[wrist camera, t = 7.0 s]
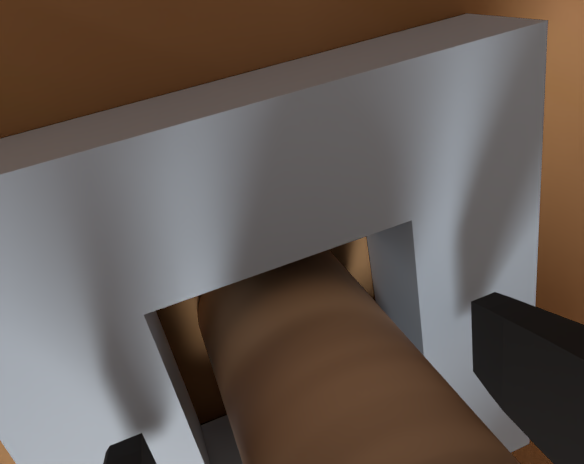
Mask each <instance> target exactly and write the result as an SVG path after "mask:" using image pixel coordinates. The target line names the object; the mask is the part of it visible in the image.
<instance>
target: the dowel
mask: <svg viewBox="0 0 584 464" xmlns="http://www.w3.org/2000/svg"><path fill="white" fill-rule="evenodd" d="M198 322H199V327H200V331H201V334H202V337H203V340H204V343H205V347H206V350H207V353H208V356H209V359H210V362H211V365H212V369H213V372H214V375H215V378H216V381H217V384H218V387H219V390H220V394H221V397H222V400H223V403H224V406H225V409H226V412H227V416H228V419H229V422H230V425H231V428H232V431H233V434H234V437H235V441H236V444H237V447H238V450H239V453H240V456H241V459H242V463H243V464H520V463H519V462H518V461H517V459H516V458H515V457H514V456H513V455H512V454H511V453H510V452H509V451H508V449H507V448H506V447H505V446H504V445H503V444H502V443H501V442H500V440H499V439H498V438H497V437H496V436H495V435H494V434H493V433H492V432H491V430H490V429H489V428H488V427H487V426H486V425H485V424H484V423H483V421H482V420H481V419H480V418H479V417H478V416H477V415H476V414H475V413H474V411H473V410H472V409H471V408H470V407H469V406H468V405H467V404H466V402H465V401H464V400H463V399H462V398H461V397H460V396H459V395H458V393H457V392H456V391H455V390H454V389H453V388H452V387H451V386H450V385H449V383H448V382H447V381H446V380H445V379H444V378H443V377H442V376H441V374H440V373H439V372H438V371H437V370H436V369H435V368H434V367H433V366H432V364H431V363H430V362H429V361H428V360H427V359H426V358H425V357H424V355H423V354H422V353H421V352H420V351H419V350H418V349H417V348H416V347H415V345H414V344H413V343H412V342H411V341H410V340H409V339H408V338H407V336H406V335H405V334H404V333H403V332H402V331H401V330H400V329H399V328H398V326H397V325H396V324H395V323H394V322H393V321H392V320H391V319H390V317H389V316H388V315H387V314H386V313H385V312H384V311H383V310H382V309H381V307H380V306H379V305H378V304H377V303H376V302H375V301H374V300H373V298H372V297H371V296H370V295H369V294H368V293H367V292H366V291H365V290H364V288H363V287H362V286H361V285H360V284H359V283H358V282H357V281H356V279H355V278H354V277H353V276H352V275H351V274H350V273H349V272H348V271H347V269H346V268H345V267H344V266H343V265H342V264H341V263H340V262H339V260H338V259H337V258H336V257H335V256H334V255H333V254H332V253H331V252H330V251H329V250H326V251H323V252H320V253H317V254H315V255H312V256H309V257H306V258H303V259H300V260H298V261H295V262H292V263H289V264H286V265H283V266H281V267H278V268H275V269H272V270H269V271H266V272H264V273H261V274H258V275H255V276H252V277H249V278H247V279H244V280H241V281H238V282H235V283H232V284H230V285H227V286H224V287H221V288H218V289H215V290H213V291H210V292H207V293H204V294H201V297H200V301H199V306H198Z"/></svg>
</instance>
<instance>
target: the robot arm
mask: <svg viewBox="0 0 584 464" xmlns="http://www.w3.org/2000/svg"><path fill="white" fill-rule="evenodd" d="M471 322H472V355H473V372H474V373H475V375H476V376H477V378H478V379H479V380H480V382H481V383H482V384H483V386H484V387H485V388H486V390H487V391H488V393H489V394H490V395H491V396H492V398H493V399H494V400H495V402H496V403H497V404H498V405H499V407H500V408H501V409H502V410H503V412H504V413H505V414H506V415H507V416H508V417H509V418H510V419H511V420H512V421H513V422H514V423H515V424H516V425H517V426H518V427H519V428H520V429H521V430H522V432H523V433H524V434H525V435H526V436H527V437H528V438H529V439H530V440H531V441H532V442H533V443H534V444H535V445H536V446H537V447H538V448H539V449H540V450H541V451H542V452H543V453H544V454H545V455H546V456H547V457H548V458H549V459H550V460H551V461H552V462H553V463H554V464H584V325H583V324H580V323H577V322H575V321H572V320H569V319H567V318H564V317H561V316H559V315H556V314H553V313H551V312H548V311H546V310H543V309H540V308H538V307H535V306H533V305H530V304H527V303H525V302H522V301H519V300H517V299H514V298H511V297H508V296H506V295H503V294H500V293H497V292H494V293H491V294H489V295H486V296H483V297H481V298H478V299H476V300H473V301H471ZM103 464H156V462H155V459H154V457H153V455H152V453H151V451H150V449H149V447H148V445H147V443H146V440H145V438H144V436H143V434H142V433H140V434H138V435H135V436H133V437H130V438H128V439H125V440H123V441H120V442H118V443H115V444H113V445H110V446H109V448H108V449H107V451H106V453H105V458H104V462H103Z"/></svg>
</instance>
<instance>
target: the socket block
mask: <svg viewBox="0 0 584 464" xmlns="http://www.w3.org/2000/svg"><path fill="white" fill-rule="evenodd" d="M547 28H548V20H537V19H525V18H514V17H502V16H491V15H479V14H463V15H460V16H456V17H452V18H448V19H445V20H441V21H437V22H433V23H430V24H426V25H422V26H419V27H415V28H411V29H407V30H404V31H400V32H396V33H392V34H389V35H385V36H381V37H378V38H374V39H370V40H366V41H363V42H359V43H355V44H351V45H348V46H344V47H340V48H337V49H333V50H329V51H325V52H322V53H318V54H314V55H310V56H307V57H303V58H299V59H296V60H292V61H288V62H284V63H281V64H277V65H273V66H269V67H266V68H262V69H258V70H254V71H251V72H247V73H243V74H240V75H236V76H232V77H228V78H225V79H221V80H217V81H213V82H210V83H206V84H202V85H199V86H195V87H191V88H187V89H184V90H180V91H176V92H172V93H169V94H165V95H161V96H158V97H154V98H150V99H146V100H143V101H139V102H135V103H131V104H128V105H124V106H120V107H116V108H113V109H109V110H105V111H102V112H98V113H94V114H90V115H87V116H83V117H79V118H75V119H72V120H68V121H64V122H61V123H57V124H53V125H49V126H46V127H42V128H38V129H34V130H31V131H27V132H23V133H20V134H16V135H12V136H8V137H5V138H1V139H0V440H1V442H2V443H3V445H4V446H5V448H6V449H7V451H8V452H9V454H10V455H11V457H12V458H13V460H14V461H15V463H16V464H103V462H104V458H105V453H106V451H107V449H108V448H109V446H110V445H113V444H115V443H118V442H120V441H123V440H125V439H128V438H130V437H133V436H135V435H138V434H140V433H142V434H143V436H144V438H145V440H146V443H147V445H148V447H149V449H150V451H151V453H152V455H153V457H154V459H155V462H156V464H243V463H242V459H241V456H240V453H239V450H238V447H237V444H236V441H235V437H234V434H233V431H232V428H231V425H230V422H229V419H228V416H227V415H225V416H223V417H220V418H218V419H215V420H213V421H210V422H208V423H206V424H203V425H201V424H200V422H199V419H198V417H197V414H196V412H195V409H194V407H193V404H192V402H191V399H190V396H189V394H188V391H187V389H186V386H185V384H184V381H183V379H182V376H181V374H180V371H179V368H178V366H177V363H176V361H175V358H174V356H173V353H172V351H171V348H170V345H169V343H168V340H167V338H166V335H165V333H164V330H163V328H162V325H161V323H160V320H159V317H158V315H157V312H156V310H159V309H162V308H164V307H167V306H170V305H173V304H176V303H179V302H181V301H184V300H187V299H190V298H193V297H196V296H198V295H201V294H204V293H207V292H210V291H213V290H215V289H218V288H221V287H224V286H227V285H230V284H232V283H235V282H238V281H241V280H244V279H247V278H249V277H252V276H255V275H258V274H261V273H264V272H266V271H269V270H272V269H275V268H278V267H281V266H283V265H286V264H289V263H292V262H295V261H298V260H300V259H303V258H306V257H309V256H312V255H315V254H317V253H320V252H323V251H326V250H329V249H332V248H334V247H337V246H340V245H343V244H346V243H349V242H351V241H354V240H357V239H360V238H363V237H366V236H367V243H368V250H369V257H370V265H371V272H372V279H373V286H374V294H375V301H376V303H377V304H378V305H379V306H380V307H381V309H382V310H383V311H384V312H385V313H386V314H387V315H388V316H389V317H390V319H391V320H392V321H393V322H394V323H395V324H396V325H397V326H398V328H399V329H400V330H401V331H402V332H403V333H404V334H405V335H406V336H407V338H408V339H409V340H410V341H411V342H412V343H413V344H414V345H415V347H416V348H417V349H418V350H419V351H420V352H421V353H422V354H423V355H424V357H425V358H426V359H427V360H428V361H429V362H430V363H431V364H432V366H433V367H434V368H435V369H436V370H437V371H438V372H439V373H440V374H441V376H442V377H443V378H444V379H445V380H446V381H447V382H448V383H449V385H450V386H451V387H452V388H453V389H454V390H455V391H456V392H457V393H458V395H459V396H460V397H461V398H462V399H463V400H464V401H465V402H466V404H467V405H468V406H469V407H470V408H471V409H472V410H473V411H474V413H475V414H476V415H477V416H478V417H479V418H480V419H481V420H482V421H483V423H484V424H485V425H486V426H487V427H488V428H489V429H490V430H491V432H492V433H493V434H494V435H495V436H496V437H497V438H498V439H499V440H500V442H501V443H502V444H503V445H504V446H505V447H506V448H507V449H508V451H509V452H510V453H511V452H513V451H515V450H517V449H519V448H521V447H523V446H526V445H528V444H529V438H528V437H527V436H526V435H525V434H524V433H523V432H522V430H521V429H520V428H519V427H518V426H517V425H516V424H515V423H514V422H513V421H512V420H511V419H510V418H509V417H508V416H507V415H506V414H505V413H504V412H503V410H502V409H501V408H500V407H499V405H498V404H497V403H496V402H495V400H494V399H493V398H492V396H491V395H490V394H489V393H488V391H487V390H486V388H485V387H484V386H483V384H482V383H481V382H480V380H479V379H478V378H477V376H476V375H475V373H474V372H473V355H472V322H471V301H473V300H476V299H478V298H481V297H483V296H486V295H489V294H491V293H494V292H497V293H500V294H503V295H506V296H508V297H511V298H514V299H517V300H519V301H522V302H525V303H527V304H530V305H533V306H535V302H536V279H537V257H538V234H539V211H540V188H541V165H542V142H543V120H544V97H545V74H546V51H547Z"/></svg>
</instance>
